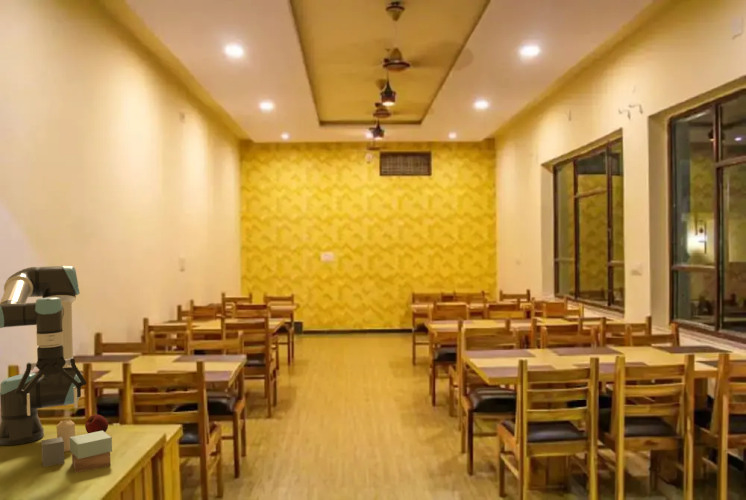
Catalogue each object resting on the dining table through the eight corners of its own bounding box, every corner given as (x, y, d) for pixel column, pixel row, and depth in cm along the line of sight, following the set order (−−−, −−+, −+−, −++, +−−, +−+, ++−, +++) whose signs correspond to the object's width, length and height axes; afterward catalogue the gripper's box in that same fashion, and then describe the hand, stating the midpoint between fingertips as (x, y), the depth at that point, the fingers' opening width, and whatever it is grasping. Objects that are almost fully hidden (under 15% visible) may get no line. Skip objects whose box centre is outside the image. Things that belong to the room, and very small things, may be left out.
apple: (82, 436, 227) (81, 414, 227) (104, 431, 232) (103, 410, 232) (89, 440, 221) (88, 418, 221) (111, 435, 226) (110, 414, 226)
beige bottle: (68, 452, 209) (67, 422, 209) (53, 451, 210) (52, 422, 210) (79, 446, 214) (77, 418, 214) (65, 446, 215) (64, 417, 215)
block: (42, 461, 200) (41, 440, 200) (62, 457, 203) (61, 436, 203) (43, 467, 195) (42, 445, 195) (64, 463, 198) (63, 441, 198)
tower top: (70, 451, 197) (69, 437, 197) (103, 444, 203) (102, 430, 203) (78, 459, 189) (77, 444, 189) (112, 451, 195) (111, 437, 195)
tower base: (72, 464, 198) (71, 450, 198) (105, 457, 203) (105, 444, 203) (75, 473, 189) (75, 459, 189) (110, 466, 194) (110, 452, 194)
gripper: (5, 351, 189) (8, 420, 189) (93, 342, 202) (96, 406, 203) (4, 348, 195) (7, 415, 196) (90, 339, 209) (92, 402, 209)
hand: (52, 411), depth 199 cm, fingers open, 13 cm apart
